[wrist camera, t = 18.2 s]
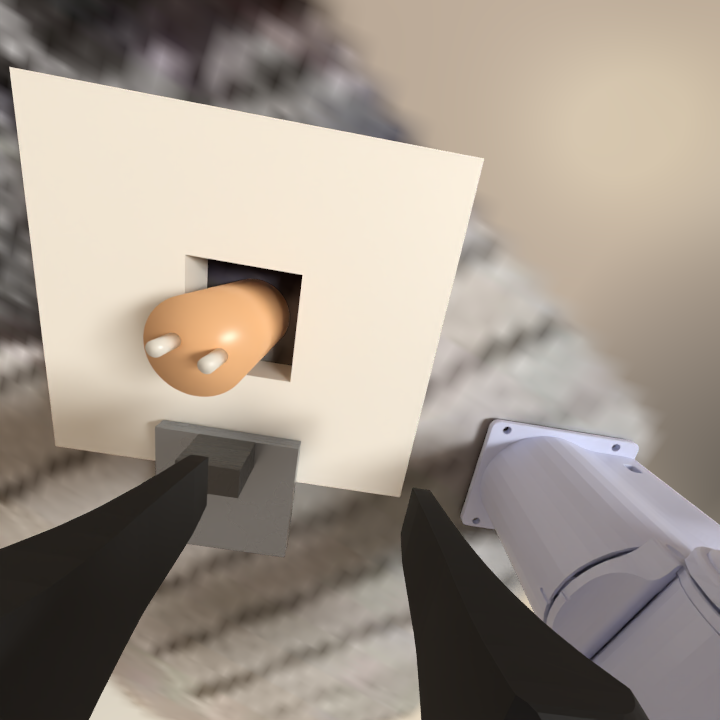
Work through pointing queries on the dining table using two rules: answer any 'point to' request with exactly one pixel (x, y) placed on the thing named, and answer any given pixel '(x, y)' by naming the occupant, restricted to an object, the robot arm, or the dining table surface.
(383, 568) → the dining table surface
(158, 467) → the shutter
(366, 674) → the dining table surface
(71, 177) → the socket plate
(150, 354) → the plug peg
